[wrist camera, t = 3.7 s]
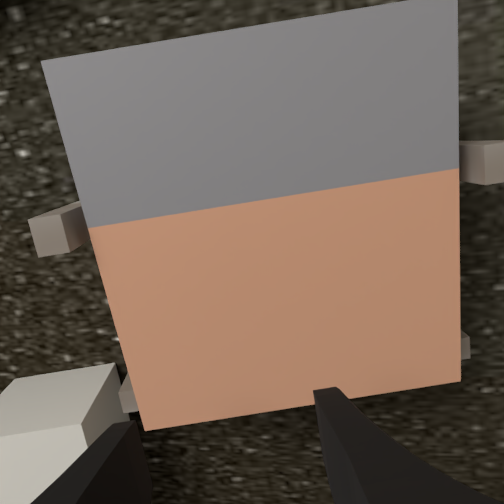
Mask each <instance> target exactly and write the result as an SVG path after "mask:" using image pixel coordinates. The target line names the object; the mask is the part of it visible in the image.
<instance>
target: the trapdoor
mask: <svg viewBox="0 0 504 504" xmlns="http://www.w3.org/2000/svg"><path fill="white" fill-rule="evenodd" d="M41 64H42V67H43V71H44V74H45V78H46V82H47V85H48V89H49V92H50V96H51V99H52V103H53V106H54V110H55V114H56V117H57V121H58V124H59V128H60V131H61V135H62V138H63V142H64V146H65V149H66V153H67V156H68V160H69V163H70V167H71V170H72V174H73V178H74V181H75V185H76V188H77V192H78V195H79V199H80V202H81V206H82V210H83V213H84V217H85V220H86V224H87V227H88V231H89V234H90V238H91V242H92V245H93V249H94V252H95V256H96V259H97V263H98V266H99V270H100V274H101V277H102V281H103V284H104V288H105V291H106V295H107V298H108V302H109V306H110V309H111V313H112V316H113V320H114V323H115V327H116V330H117V334H118V338H119V341H120V345H121V348H122V352H123V355H124V359H125V362H126V366H127V370H128V373H129V377H130V380H131V384H132V387H133V391H134V394H135V398H136V402H137V405H138V409H139V412H140V416H141V419H142V423H143V426H144V430H145V431H149V430H155V429H161V428H168V427H174V426H180V425H187V424H193V423H199V422H206V421H212V420H218V419H225V418H231V417H237V416H244V415H250V414H256V413H263V412H269V411H275V410H282V409H288V408H294V407H301V406H307V405H313V404H315V401H314V395H313V390H318V389H324V388H330V387H337V388H339V389H340V390H341V391H342V392H343V393H344V394H345V395H346V396H347V397H348V399H351V398H358V397H364V396H370V395H377V394H383V393H389V392H395V391H402V390H408V389H414V388H421V387H427V386H433V385H440V384H446V383H452V382H459V381H461V332H460V218H459V103H458V0H408V1H402V2H396V3H390V4H384V5H378V6H371V7H365V8H359V9H353V10H347V11H341V12H335V13H329V14H323V15H317V16H311V17H305V18H299V19H293V20H287V21H281V22H275V23H268V24H262V25H256V26H250V27H244V28H238V29H232V30H226V31H220V32H214V33H208V34H202V35H196V36H190V37H184V38H178V39H172V40H166V41H159V42H153V43H147V44H141V45H135V46H129V47H123V48H117V49H111V50H105V51H99V52H93V53H87V54H81V55H75V56H69V57H63V58H57V59H50V60H44V61H41Z"/></svg>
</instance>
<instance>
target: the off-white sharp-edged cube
mask: <svg viewBox="0 0 504 504" xmlns="http://www.w3.org/2000/svg"><path fill="white" fill-rule="evenodd" d="M120 388H121V383H120V379H119V376H118V372H117V368H116V364H115V363H111V364H105V365H99V366H93V367H86V368H80V369H74V370H68V371H61V372H55V373H49V374H43V375H37V376H30V377H24V378H18V379H14V380H13V382H12V383H11V384H10V385H9V386H8V387H7V388H6V389H5V390H4V391H3V392H2V393H1V394H0V504H30V503H31V502H33V501H34V500H35V499H36V498H37V497H38V496H39V495H40V494H41V493H42V492H43V491H44V490H45V489H47V488H48V487H49V486H50V485H51V484H52V483H53V482H54V481H55V480H56V479H57V478H58V477H59V476H60V475H61V474H62V473H63V472H64V471H65V470H66V469H67V468H68V467H69V466H70V465H71V464H72V463H73V462H74V461H75V460H76V459H77V458H78V457H79V456H80V455H81V454H82V453H83V452H84V451H85V450H86V449H87V448H88V447H89V446H90V445H91V444H92V443H93V442H94V441H95V440H96V439H97V438H98V437H99V436H100V435H101V434H102V433H103V432H104V431H105V430H106V429H107V428H109V427H110V426H111V425H112V424H113V423H119V422H125V421H130V418H129V415H128V413H123V409H122V406H121V402H120V398H119V394H118V392H119V390H120Z"/></svg>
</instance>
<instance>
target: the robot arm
mask: <svg viewBox="0 0 504 504" xmlns="http://www.w3.org/2000/svg"><path fill="white" fill-rule="evenodd" d="M313 395H314V401H315V408H316V415H317V421H318V428H319V435H320V441H321V448H322V455H323V460H324V464H325V468H326V473H327V477H328V481H329V485H330V489H331V493H332V497H333V499H334V502H335V504H504V503H501V502H499V501H497V500H495V499H492V498H490V497H488V496H486V495H484V494H482V493H480V492H478V491H476V490H474V489H472V488H470V487H468V486H466V485H464V484H462V483H460V482H458V481H456V480H454V479H453V478H451V477H449V476H447V475H446V474H444V473H442V472H440V471H439V470H437V469H435V468H434V467H432V466H431V465H429V464H427V463H426V462H424V461H423V460H421V459H420V458H418V457H417V456H415V455H414V454H412V453H411V452H410V451H408V450H407V449H406V448H404V447H403V446H402V445H400V444H399V443H398V442H396V441H395V440H394V439H393V438H391V437H390V436H389V435H388V434H386V433H385V432H384V431H383V430H382V429H381V428H379V427H378V426H377V425H376V424H375V423H374V422H372V421H371V420H370V419H369V418H368V417H367V416H366V415H365V414H364V413H363V412H362V411H361V410H359V409H358V408H357V407H356V406H355V405H354V404H353V403H352V402H351V401H350V400H349V399H348V397H347V396H346V395H345V394H344V393H343V392H342V391H341V390H340V389H339V388H337V387H330V388H324V389H318V390H313ZM152 488H153V483H152V480H151V476H150V472H149V468H148V464H147V461H146V457H145V453H144V449H143V445H142V442H141V438H140V434H139V430H138V426H137V423H136V420H131V421H125V422H119V423H113V424H112V425H111V426H110V427H109V428H107V429H106V430H105V431H104V432H103V433H102V434H101V435H100V436H99V437H98V438H97V439H96V440H95V441H94V442H93V443H92V444H91V445H90V446H89V447H88V448H87V449H86V450H85V451H84V452H83V453H82V454H81V455H80V456H79V457H78V458H77V459H76V460H75V461H74V462H73V463H72V464H71V465H70V466H69V467H68V468H67V469H66V470H65V471H64V472H63V473H62V474H61V475H60V476H59V477H58V478H57V479H56V480H55V481H54V482H53V483H52V484H51V485H50V486H49V487H48V488H47V489H45V490H44V491H43V492H42V493H41V494H40V495H39V496H38V497H37V498H36V499H35V500H34V501H33V502H31V503H30V504H151V497H152Z"/></svg>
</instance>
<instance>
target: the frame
mask: <svg viewBox="0 0 504 504" xmlns="http://www.w3.org/2000/svg"><path fill="white" fill-rule="evenodd" d="M459 181H464V182H470V183H476V184H482V185H489V184H495V183H502V182H504V140H492V141H459ZM28 222H29V226H30V230H31V233H32V237H33V240H34V244H35V247H36V251H37V254H38V257H43V256H50V255H56V254H62V253H68V252H71V251H73V250H74V249H76V248H77V247H79V246H80V245H82V244H83V243H85V242H87V241H88V240H90V239H91V238H90V234H89V231H88V227H87V224H86V220H85V217H84V213H83V210H82V206H81V202H80V201H78V202H75V203H72V204H69V205H67V206H64V207H61V208H58V209H56V210H53V211H50V212H47V213H45V214H42V215H39V216H36V217H34V218H31V219H28ZM460 332H461V360H463V359H470V358H471V357H470V337H469V336H468V335H467V334H466V333H464V332H463V331H462V330H461V329H460ZM118 394H119V398H120V402H121V406H122V409H123V413H129V412H135V411H139V409H138V405H137V402H136V398H135V394H134V391H133V387H132V384H131V380H130V377H129V373H127V375H126V378H125V380H124V382H123V384H122V386H121V388H120V390H119V392H118Z"/></svg>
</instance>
